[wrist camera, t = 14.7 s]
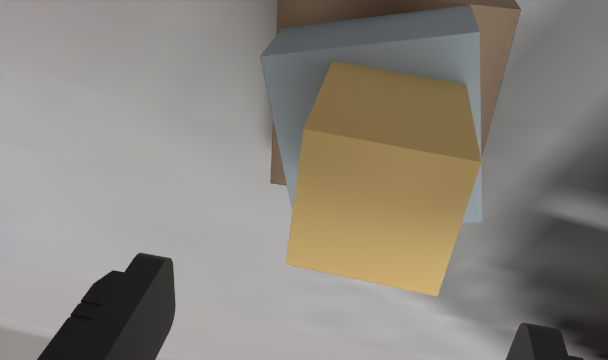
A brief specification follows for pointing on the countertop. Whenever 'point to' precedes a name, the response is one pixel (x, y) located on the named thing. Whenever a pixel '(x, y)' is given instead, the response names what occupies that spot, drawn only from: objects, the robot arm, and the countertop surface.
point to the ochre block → (383, 177)
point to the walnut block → (370, 3)
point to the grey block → (374, 54)
